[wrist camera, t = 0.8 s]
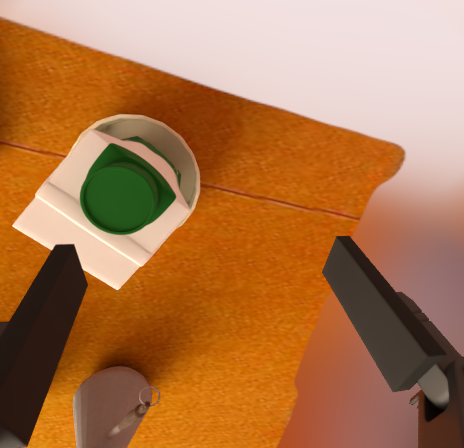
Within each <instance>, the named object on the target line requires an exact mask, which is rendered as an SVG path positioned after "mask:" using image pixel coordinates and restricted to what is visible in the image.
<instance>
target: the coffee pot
mask: <svg viewBox="0 0 464 448" xmlns="http://www.w3.org/2000/svg"><path fill="white" fill-rule="evenodd" d="M151 388H153V389H155V390H156V391H157V392H158V394H159V399H158V401H157V403H158V402H159V400H160V392H159V391H158V390H157V389H156V388H155V387H153V386H150V385H149V383H148V381H147V380H146V379H145V377H144V376H143V375H141V374H140V373H138V372H137V371H135V370H134V369H131V368H129V367H124V366H114V367H110V368H107V369H103V370H101V371H99V372H97V373H94V374H92V375H91V376H90V377H89V378H87V379H86V380H85V381H84V382H83V383H82V384H81V385H80V387H79V388H78V389H77V391H76V392H75V395H74V398H73V412H74V424H75V436H76V448H127V446H128V444H129V443H130V441H131V439H132V437H133V436H134V434H135V432H136V430H137V428H138V427H139V425H140V423H141V421H142V420H143V418H144V416H145V414H146V412H147V411H148V409H149V407H150V406H154V405H156V404H157V403H155V404H153V405H150V404H151V401H152V391H151Z"/></svg>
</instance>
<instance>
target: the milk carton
mask: <svg viewBox="0 0 464 448" xmlns="http://www.w3.org/2000/svg"><path fill="white" fill-rule="evenodd" d="M180 182H181V173H180V172H179V171H178V169H177V168H176V167H175V165H174V164H173V163H172V162H171V161H170V160H169V159H168V158H167V157H165V156H164V155H163V154H162V153H161V152H160V151H159V150H157V149H156V148H155V147H154V146H153V145H152V144H150V143H149V142H147V141H145V140H144V139H142V138H140V137H138V136H134V137H130V138H125V139H121V140H119V139H117V138H114V137H112V136H109V135H107V134H104V133H102V132H99V131H97V130H94V129H92V130H89V131H88V132H87V133H86V135H85V136H84V137H83V138H82V139H81V141H80V142H79V143H78V144H77V145H76V146H75V147H74V148H73V149H72V151H71V152H70V153H69V154H68V155H67V157H66V158H65V159H64V160H63V161H62V163H61V164H60V165H59V166H58V167H57V168H56V170H55V171H54V172H53V173H52V174H51V175H50V176H49V177H48V178H47V179H46V180H45V182H44V183H43V184H42V185H41V187H40V188H39V189H38V191H37V192H36V194H35V196H36V197H35V198H34V199H33V201H32V202H31V203H30V204H29V205H28V207H27V208H26V209H25V210H24V212H23V213H22V214H21V215H20V216H19V218H18V219H17V220H16V221H15V223H14V224H13V225H12V226H13V227H14V228H16V229H18V230H19V231H21V232H23V233H24V234H26V235H27V236H29V237H31V238H32V239H34V240H36V241H37V242H39V243H41V244H42V245H44V246H46V247H47V248H49V249H50V250H53V248H54V246H55V245H56V244H74V245H75V248H76V251H77V254H78V257H79V260H80V263H81V266H82V269H83V270H85V271H87V272H88V273H90V274H92V275H93V276H95V277H97V278H98V279H100V280H101V281H103V282H105V283H106V284H108V285H110V286H111V287H113V288H115V289H116V290H119V289H120V287H121V286H122V285H123V284H124V283H125V282H126V281H127V280H128V279H129V278H130V277H131V275H132V274H133V273H134V272H135V271H136V270H137V269H138V268H139V267H140V266H143V265H144V264H145V263H146V262H147V261H148V260H149V259H150V258H151V257H152V255H153V254H154V253H155V252H156V251H157V249H158V248H159V247H160V246H161V245H162V244H163V242H164V241H165V240H166V239H167V238H168V237H169V236H170V235H171V233H172V232H173V231H174V230H175V229H176V228H177V227H178V225H179V224H180V223H181V222H182V221H183V220H184V218H185V217H186V216H187V215H188V214H189V212H190V208H189V207H188V205H187V203H186V201H185V200H184V198H183V196H182V194H181V192H180V191H179V190H180Z"/></svg>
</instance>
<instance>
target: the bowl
mask: <svg viewBox="0 0 464 448" xmlns="http://www.w3.org/2000/svg"><path fill="white" fill-rule="evenodd" d="M92 129H94V130H97V131H99V132H102V133H104V134H107V135H109V136H112V137H114V138H117V139H119V140H121V139H125V138H130V137H134V136H138V137H140V138H142V139H144V140H145V141H147V142H149V143H150V144H152V145H153V146H154V147H155V148H156V149H157V150H159V151H160V152H161V153H162V154H163V155H164V156H165V157H167V158H168V159H169V160H170V161H171V162H172V163H173V164H174V165H175V167H176V168H177V169H178V171H179V172H180V173H181V182H180V190H179V191H180V192H181V194H182V196H183V198H184V200H185V201H186V203H187V205H188V207H189V208H190V212H189V214H188V215H187V216H186V217H185V218H184V220H183V221H182V222H181V223H180V224H179V225H178V227H180V226H181V225H182V224H184V223H185V221H186V220H187V219H188V217H189V216H190V214H191V213H192V212H193V210H194V209H195V206H196V203H197V200H198V197H199V193H200V171H199V168H198V165H197V162H196V159H195V156H194V154H193V152H192V151H191V149H190V148H189V146H188V145H187V144H186V142H185V141H184V139H183V138H182V137H181V136H180V135H179V134H178V133H176V132H175V131H174V130H172V129H171V128H170V127H168V126H167V125H166V124H165V123H163V122H160V121H157V120H155V119H152V118H149V117H147V116H144V115H132V114H118V115H114V116H111V117H108V118H104V119H101V120H98V121H97V122H95V123H94V124H93V125H91V126H90V127H89V128H87V129H86V130H85V131H83V132H82V133H81V134H80V136H79V137H78V139H77V141H76V142H75V144H74V145H73V147H72V149H73V148H74V147H75V146H76V145H77V144H78V143H79V142H80V141H81V139H82V138H83V137H84V136H85V135H86V133H87V132H88V131H89V130H92ZM72 149H71V150H70V152H71V151H72ZM178 227H177V228H178ZM177 228H176V229H177ZM176 229H175V230H176Z"/></svg>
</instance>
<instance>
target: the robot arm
mask: <svg viewBox="0 0 464 448" xmlns="http://www.w3.org/2000/svg"><path fill="white" fill-rule="evenodd" d="M322 273H323V274H324V276H325V278H326V280H327V281H328V283H329V285H330V286H331V288H332V290H333V291H334V293H335V295H336V296H337V298H338V300H339V302H340V303H341V305H342V306H343V308H344V310H345V312H346V313H347V315H348V317H349V319H350V320H351V322H352V324H353V325H354V327H355V329H356V330H357V332H358V334H359V335H360V337H361V339H362V340H363V342H364V344H365V346H366V347H367V349H368V351H369V352H370V354H371V356H372V358H373V359H374V361H375V362H376V364H377V366H378V368H379V369H380V371H381V373H382V375H383V376H384V378H385V379H386V381H387V383H388V385H389V386H390V388H391V390H392V391H393V392H397V391H404V390H409V389H410V388H412V387H413V386H414V385H415V384H416V383H418V385H419V386H420V388H421V390H420V391H419V392H418V393H417V394H416V395H415V396H414V397H412V398H411V400H410V403H409V404H411V405H413V404H415V403H416V402H417V401H418V400H419V405H418V406H417V408H418V409H419V412H418V413H419V417H418V420H419V421H418V422H419V424H418V427H419V428H418V434H419V435H418V448H464V357H462V356H461V355H460V354H459V353H458V352H457V351H456V350H455V349H454V347H453V346H452V345H451V344H450V343H449V342H448V340H447V339H446V338H445V337H444V336H443V335H442V334H441V332H440V331H439V330H438V329H437V328H436V327H435V325H434V324H433V323H432V322H431V321H429V319H428V318H427V316H426V315H425V314H424V313H422V311H421V309H420V308H419V307H418V306H417V305H416V304H415V302H414V301H413V300H411V299H410V298H409V297H407V296H406V295H405V294H403V293H402V292H395V290H394V289H393V288H392V287H391V286H390V284H389V283H388V282H387V281H386V280H385V279H384V277H383V276H382V275H381V274H380V272H379V271H378V270H377V269H376V268H375V266H374V265H373V264H372V263H371V262H370V260H369V259H368V258H367V257H366V256H365V254H364V253H363V252H362V251H361V249H360V248H359V247H358V246H357V245H356V243H355V242H354V241H353V240H352V239H351V237H350V236H336V239H335V241H334V244H333V246H332V249H331V251H330V254H329V256H328V259H327V261H326V264H325V266H324V269H323V271H322ZM87 286H88V284H87V281H86V278H85V275H84V272H83V269H82V266H81V263H80V260H79V257H78V254H77V251H76V248H75V245H74V244H56V245H55V246H54V248H53V250H52V251H51V253H50V255H49V256H48V258H47V260H46V261H45V263H44V265H43V266H42V268H41V270H40V271H39V273H38V275H37V276H36V278H35V280H34V281H33V283H32V285H31V286H30V288H29V290H28V291H27V293H26V295H25V296H24V298H23V300H22V301H21V303H20V305H19V306H18V308H17V310H16V311H15V313H14V315H13V316H12V318H11V320H10V321H8V322H0V448H22V447H27V446H28V443H29V441H30V438H31V435H32V433H33V430H34V427H35V425H36V422H37V419H38V417H39V414H40V411H41V409H42V406H43V403H44V401H45V398H46V395H47V393H48V390H49V387H50V385H51V382H52V379H53V377H54V374H55V371H56V369H57V366H58V363H59V361H60V358H61V355H62V353H63V350H64V347H65V345H66V342H67V339H68V337H69V334H70V331H71V329H72V326H73V323H74V321H75V318H76V315H77V313H78V310H79V307H80V305H81V302H82V299H83V297H84V294H85V291H86V289H87Z"/></svg>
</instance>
